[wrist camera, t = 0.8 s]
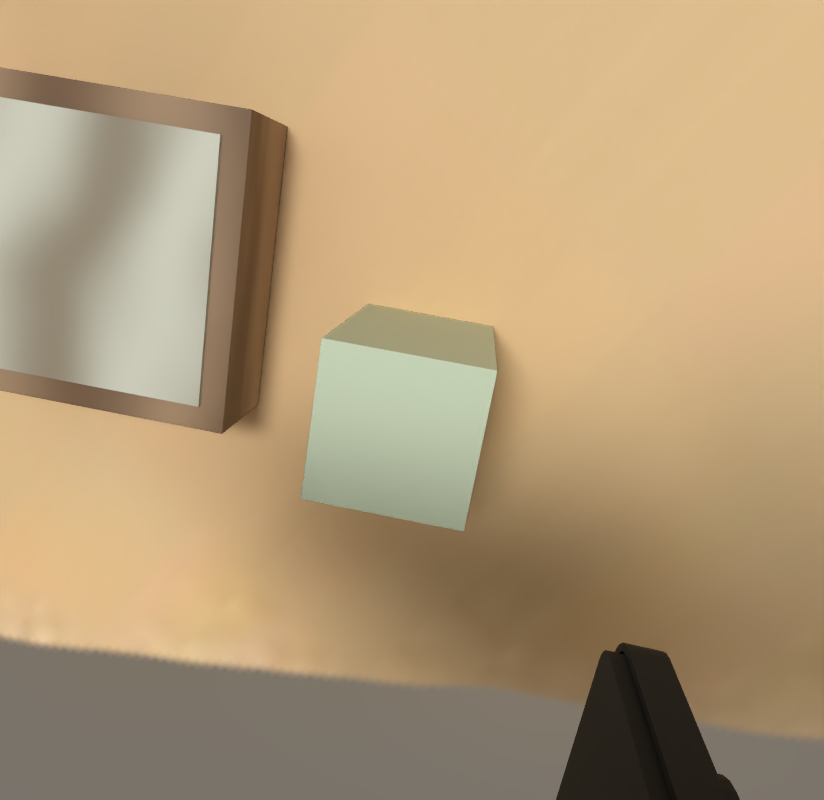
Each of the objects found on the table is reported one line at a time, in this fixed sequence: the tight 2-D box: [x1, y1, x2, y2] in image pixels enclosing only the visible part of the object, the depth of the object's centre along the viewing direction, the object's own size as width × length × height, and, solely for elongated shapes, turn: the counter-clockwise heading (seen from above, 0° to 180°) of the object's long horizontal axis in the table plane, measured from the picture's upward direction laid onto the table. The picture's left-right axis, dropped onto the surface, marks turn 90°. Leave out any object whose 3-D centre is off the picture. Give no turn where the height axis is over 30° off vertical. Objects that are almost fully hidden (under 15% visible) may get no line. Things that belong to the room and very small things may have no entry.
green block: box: [301, 304, 497, 532], centre depth 23 cm, size 5×5×8 cm
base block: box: [0, 67, 287, 434], centre depth 25 cm, size 11×11×4 cm
